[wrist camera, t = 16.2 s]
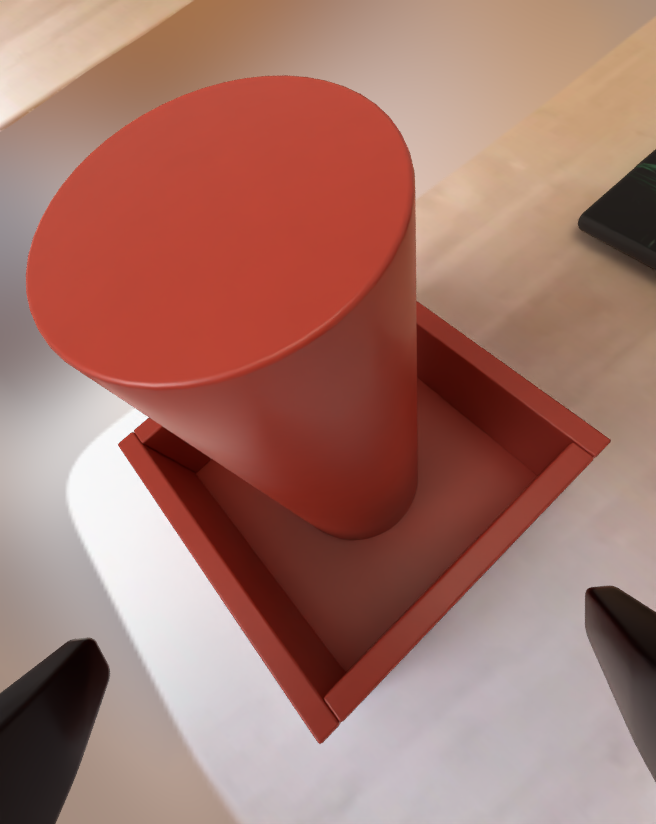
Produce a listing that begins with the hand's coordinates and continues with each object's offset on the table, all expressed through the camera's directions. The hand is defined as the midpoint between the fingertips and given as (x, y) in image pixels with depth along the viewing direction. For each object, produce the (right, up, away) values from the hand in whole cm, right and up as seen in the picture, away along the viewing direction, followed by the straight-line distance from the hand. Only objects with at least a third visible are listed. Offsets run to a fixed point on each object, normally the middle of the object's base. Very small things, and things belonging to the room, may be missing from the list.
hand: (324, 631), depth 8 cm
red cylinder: (+1, +1, +9) cm, 9 cm away
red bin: (+1, +1, +10) cm, 10 cm away
